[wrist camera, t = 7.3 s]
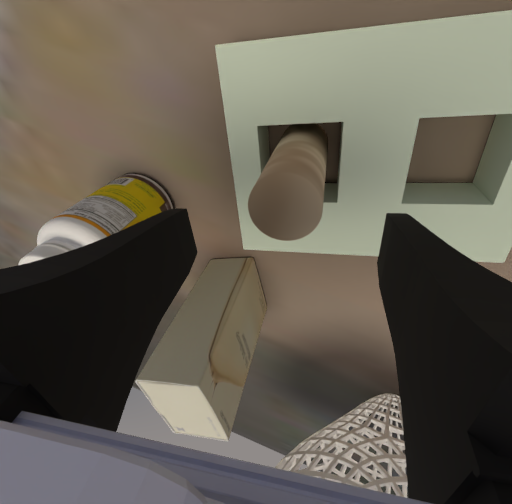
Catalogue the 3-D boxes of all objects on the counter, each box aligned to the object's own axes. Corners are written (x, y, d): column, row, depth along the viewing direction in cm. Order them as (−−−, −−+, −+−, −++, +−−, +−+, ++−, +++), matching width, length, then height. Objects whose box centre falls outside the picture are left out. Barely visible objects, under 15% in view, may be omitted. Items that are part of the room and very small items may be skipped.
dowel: (331, 122, 18) (329, 177, 11) (323, 170, 19) (316, 245, 12) (282, 118, 18) (248, 168, 11) (279, 165, 20) (247, 235, 13)
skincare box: (268, 306, 28) (233, 444, 19) (226, 306, 30) (173, 435, 20) (253, 253, 25) (200, 388, 15) (206, 256, 26) (131, 382, 17)
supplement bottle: (162, 243, 26) (85, 332, 18) (106, 206, 25) (-1, 284, 17) (188, 200, 23) (108, 286, 15) (125, 156, 22) (4, 223, 14)
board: (580, 3, 13) (636, -5, 10) (483, 235, 20) (503, 262, 17) (232, 44, 16) (214, 45, 14) (252, 228, 23) (243, 249, 21)
